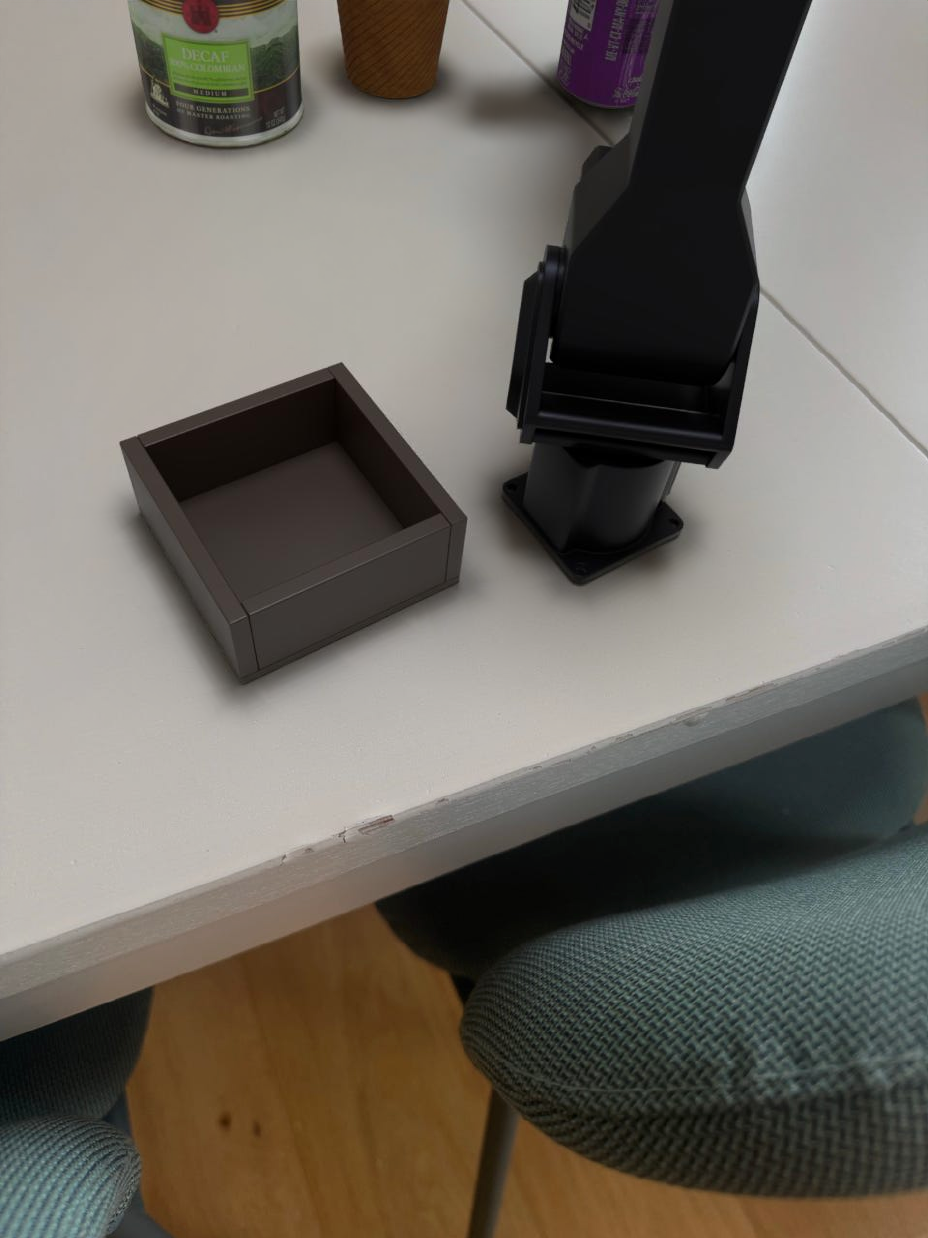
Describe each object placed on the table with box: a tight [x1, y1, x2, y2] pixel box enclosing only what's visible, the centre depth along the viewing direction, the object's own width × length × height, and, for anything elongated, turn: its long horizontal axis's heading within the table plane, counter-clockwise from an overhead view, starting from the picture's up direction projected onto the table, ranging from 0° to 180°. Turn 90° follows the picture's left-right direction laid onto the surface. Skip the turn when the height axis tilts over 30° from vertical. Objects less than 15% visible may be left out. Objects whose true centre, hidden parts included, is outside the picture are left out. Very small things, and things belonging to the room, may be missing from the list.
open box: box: [118, 361, 469, 685], centre depth 41 cm, size 11×11×4 cm
